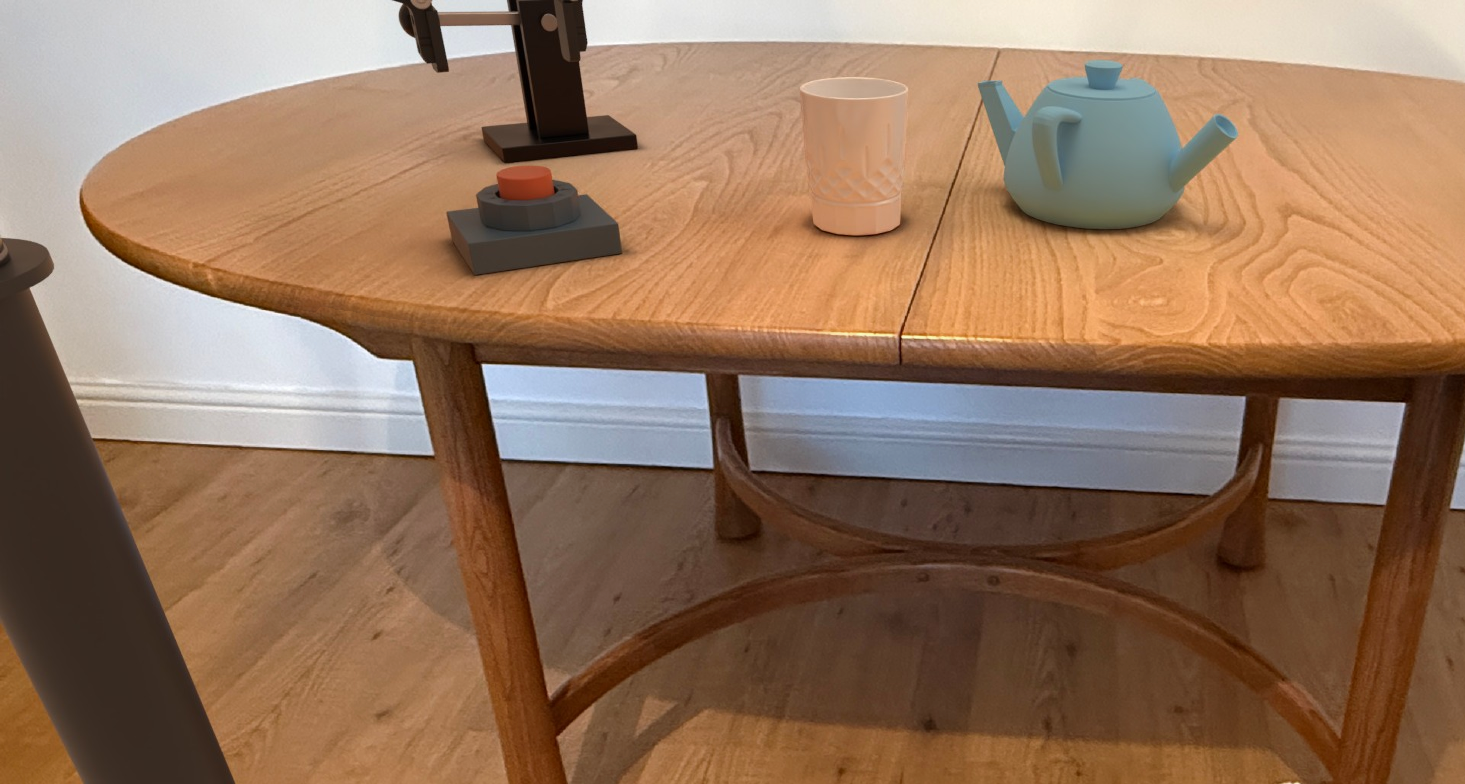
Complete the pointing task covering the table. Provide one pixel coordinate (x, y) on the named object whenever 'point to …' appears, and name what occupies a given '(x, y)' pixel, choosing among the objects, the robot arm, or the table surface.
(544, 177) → the button
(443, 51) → the robot arm
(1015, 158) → the teapot
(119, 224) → the table surface
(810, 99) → the peach cup
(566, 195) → the button block
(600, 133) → the bracket
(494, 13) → the tap lever
